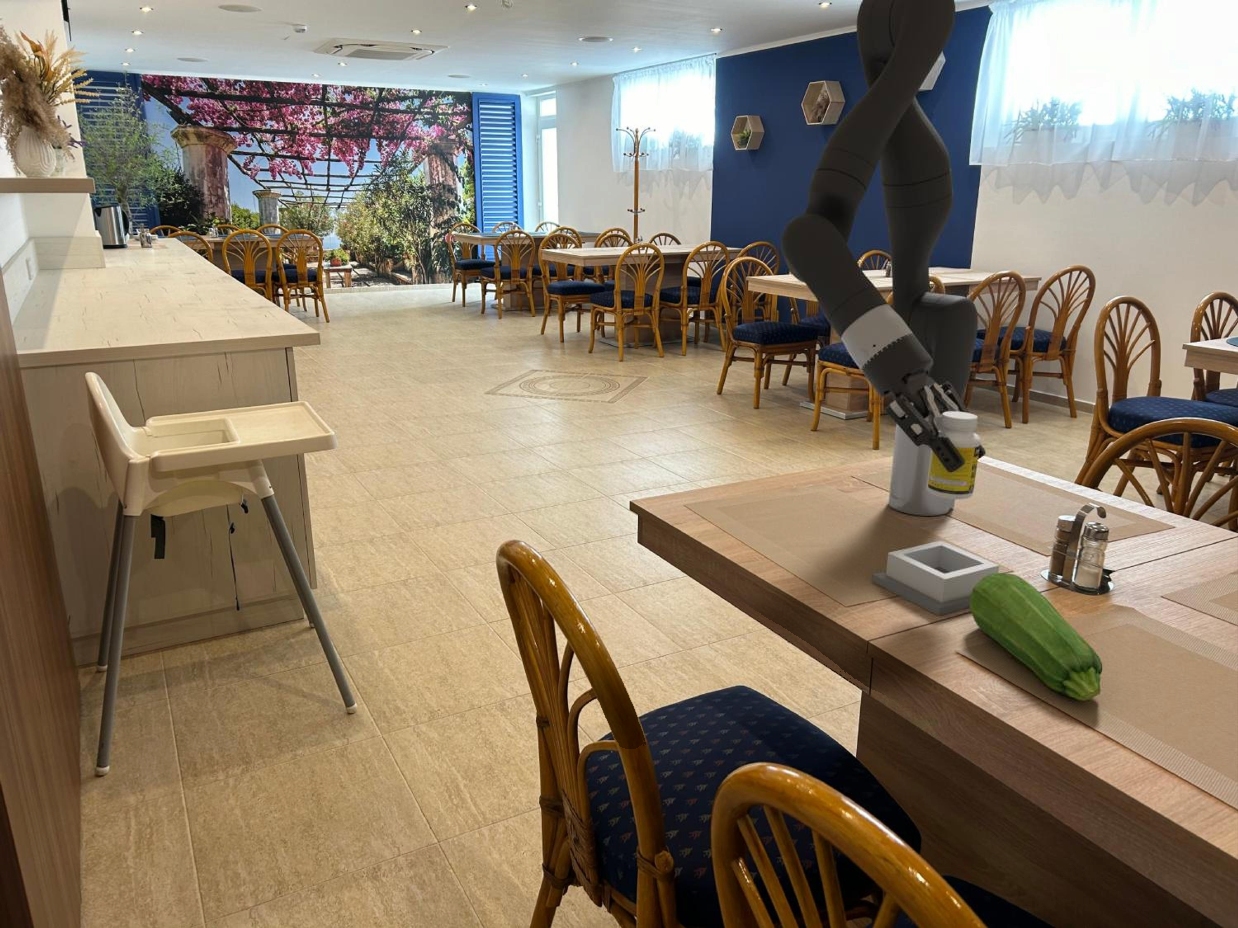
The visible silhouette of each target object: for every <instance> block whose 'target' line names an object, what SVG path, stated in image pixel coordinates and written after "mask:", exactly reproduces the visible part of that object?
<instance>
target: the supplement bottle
mask: <svg viewBox="0 0 1238 928" xmlns="http://www.w3.org/2000/svg"><path fill="white" fill-rule="evenodd" d="M978 418H979V417H978V416H977V414H973V413H970V412H969V413H966V412H956V411H950V412H944V413H943V414H942V419H941V426H943V427H942V428H943V430H944V432H945V435H946V436H945V437H944V438H946V437H948V438H949V439H950V441H951V442H952V444H953V445H954V446H955V448H956V449H957V450H958V452H959V453H960V454H961V456H962V457H963V459H964V460H965V464H964V465H963V466H962V467H960V468H959V469H957V470H956V471H954V472H952V473H950V472H948V471H947V470H946V468H945V467H944V466H943V464H942V463H941V462H940V460H939V459H938V457H937V456H936V455H935V453H934V452H933V451H932V449H931V455H930V462H929V470H928V478H927V486H926V489H927V491H928V492H929V493H931V494H932V495H935V496H937V497H941V498H947V499H955V500H965V499H969V498H972V496H973V495H974V489H975V483H976V475H977V468H978V461H979V459H978V456H979V449H980V444H981V438H980V436H979V435H978V434H977V433H975V432H974V431H975V430H976V429H977V426H978Z"/></svg>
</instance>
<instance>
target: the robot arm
mask: <svg viewBox="0 0 1238 928" xmlns="http://www.w3.org/2000/svg"><path fill="white" fill-rule="evenodd" d="M955 20H956V3H955V0H862V1H861V2H860V5H859V8H858V12H857V18H856V39H857V47H858V52H859V58H860V61H861V67H862V70H863V76H864V79H865V82H866V83H865V84H866V89H867V91H866V93H865V94H864V96H862V98H861V99H859V101H858V102H857V103H856V104H855V105H854V106H853V107H852V108H851V109H850V110H849V112H848V113H846V115H845V116H844V117H843V119H841V121H840V122H839V124H838V125H837V126H836V127H835V128H834V131H833V132H832V134H831V136H830V137H829V139H828V141H827V142H826V145H825V147H824V148H823V151H822V153H821V156H820V158H819V161H818V163H817V165H816V168H815V170H814V172H813V175H812V177H811V181H810V183H809V186H808V201H807V205H806V208H805V211H804V214H801V215H798V216H795V217H794V218H792V220H790V221H789V222H788V223H787V224H786V226H785V227H784V229H783V231H782V235H781V238H780V239H781V241H780V243H781V244H780V247H781V253H782V255H783V257H784V261H785V263H786V265H787V266H786V267H787V268H788V270H789V272H790V273H791V275H792V276H793V277H794V278H796V279H797V280H798V281H799V282H802V283H804V284H805V285H806V286H807V288H808V290H810V292H811V293H812V295H813V296H814V297H815V299H816V301H817V303H818V306H819V308H820V309H821V311H822V313H823V315H824V317H825V318H826V320H827V321H828V323H829V325H830V326H832V328H833V330H834V331H835V332H836V334H837V335H838V336H839V338H840V340H841V341H842V343H843V344H844V346H845V349H846V350H847V352H848V354H849V355H850V357H851V358H852V360H853V362H854V363H855V364H856V366H857V367H858V368H859V370H860V371H861V372H862V374H863V375H864V376H865V378H866V379H867V381H868V382H869V384H870V385H871V386H872V387H873V389H874V390H875V392H876V393H877V394H878V396H879V398H883V399H884V398H889V397H893V399H894V400H893V401H892V402H891V403H890V404H888V405H887V406H886V407H885V412H886V413H887V414H888V415H889V416H890V417H891V419H892V420H893V421H894V422H895V423H896V425H895V432H894V433H895V435H894V443H893V444H894V446H893V457H892V466H891V474H890V475H891V476H890V482H889V483H890V484H889V486H890V487H889V495H888V496H889V497H888V505H889V507H891V508H892V509H894V510H896V511H898V512H901V513H904V514H909V515H914V516H915V515H916V516H930V517H931V516H941V515H945V514H947V513H948V512H949V511H950V509H953V508H955V502H956V499H947V498H941V497H937V496H935V495H932V494H931V493H929V492H928V491H927V489H926V486H927V478H928V470H929V462H930V455H931V449H932V451H933V452H934V453H935V455H936V456H937V457H938V459H939V460H940V462H941V463H942V464H943V466H944V467H945V468H946V470H947V471H948V472H950V473H952V472H954V471H956V470H957V469H959V468H960V467H962V466H963V465H964V464H965V460H964V459H963V457H962V456H961V454H960V453H959V452H958V450H957V449H956V448H955V446H954V445H953V444H952V442H951V441H950V439H949V438H948V437H946V438H944V437H945V436H946V435H945V432H944V430H943V428H942V427H943V426H941V419H942V414H943V413H944V412H950V411H956V412H966V413H970V411H969V410H968V407H966V405H965V404H964V401H963V399H964V395H965V392H966V389H967V386H968V383H969V381H970V376H971V375H970V374H971V370H972V369H971V368H972V362H973V357H974V351H975V347H976V341H977V334H978V326H979V316H978V310H977V307H976V305H975V302H973V300H972V299H970V298H968V297H966V296H963V295H956V294H955V295H954V294H953V295H952V294H943V293H937V292H936V293H934V292H932V289H931V284H930V261H931V260H930V259H931V255H932V253H933V250H934V248H935V246H936V243H937V242H938V241H939V240H938V239H939V238H940V236H941V234H942V232H943V230H944V228H945V227H946V224H947V222H948V220H949V218H950V216H951V213H952V209H953V205H954V187H953V174H952V165H951V164H952V163H951V158H950V153H949V151H948V149H947V147H946V145H945V142H944V141H943V139H942V137H941V136H940V134H939V132H938V131H937V129H936V128H935V127H934V126H933V124H932V122H931V121H930V120H929V118H928V117H927V115H926V114H925V112H924V111H923V108H922V107H921V105H920V104H919V102H918V100H917V97H916V95H917V93H918V92H919V90H920V89H921V87H922V86H923V84H924V82H925V80H926V78H927V77H928V75H929V74H930V72H931V71H932V69H933V68H934V66H935V64H936V62H937V61H938V60H939V59H940V56H941V55H942V53H943V51H944V49H945V48H946V46H947V43H948V42H949V40H950V37H951V35H952V32H953V29H954V25H955ZM878 164H879V165H880V166H879V167H880V179H881V180H880V181H881V186H882V187H881V188H882V195H883V196H882V197H883V205H884V209H885V215H886V221H887V228H888V229H887V230H888V238H889V240H888V241H889V250H890V252H889V253H890V261H891V263H890V264H891V281H892V283H891V284H892V286H891V287H892V291H891V292H892V307H891V305H890V304H889V303H888V302H887V300H886V299H885V298H884V297H883V295H882V294H881V292H880V291H879V289H878V288H877V286H875V285H874V283H873V282H872V281H871V280H870V279H869V278H868V277H867V275H866V274H865V272H863V270H862V269H861V267H860V264H859V263H858V261H857V260H856V257H855V256H854V254H853V253H852V251H851V250H850V248H849V246H848V242H849V239H850V237H851V236H850V235H851V232H852V229H853V225H854V223H855V219H856V215H857V212H858V209H859V207H860V205H861V203H862V200H863V199H864V196H866V195H865V194H866V191H867V190H868V188H869V185H870V183H871V180H872V178H873V176H874V174H875V171H876V169H877V166H878ZM986 454H987V453H986V449H985V448H984V447H983V446H982V443H980V449H979V456H978V460H980V459H981V458H983V457H984V456H986Z"/></svg>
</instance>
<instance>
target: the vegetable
mask: <svg viewBox="0 0 1238 928" xmlns="http://www.w3.org/2000/svg"><path fill="white" fill-rule="evenodd" d="M969 606H970V607H969V609H970V611H971V614H972V618H973V619H974V622H975V624H976V625H977V626H978V628H979V629H980V630H981V631H983V633H985V634H986V635H988V636H989V637H991V638H992V639H994V641H996V642H997V643H999V645H1001V646H1002V647H1003V648H1004V649H1006V650H1007V651H1008V652H1009V653H1010V654H1011V655H1012V656H1014V657H1015V658H1016V659H1018V661H1020V662H1022V663H1023V664H1024V665H1026V666H1027V667H1028V668H1029V669H1030V670H1031V671H1033V673H1035V674H1036V676H1037V677H1038V678H1039V679H1040V680H1041V681H1042V682H1043V683H1044V684H1045V685H1046V686H1047V687H1048V688H1050V689H1051V690H1052V691H1055V692H1057V693H1061V694H1062V695H1064V696H1066V697H1071V698H1073V699H1076V700H1077V701H1083V702H1084V701H1090V700H1092V699H1094V698H1095V697H1096V696H1098V695H1100V694H1101V691H1102V690H1101V674H1102V672H1103V663H1102V661H1101V657H1100V656H1099V655H1098V653H1097V652H1096V651H1095V650H1094V648H1093V647H1092V646H1091V645H1090V644H1089V643H1088V642H1087V641H1086V639H1084V638H1083V637H1082V636H1081V635H1080V634H1079V633H1078V632H1077V631H1076V630H1075V629H1074V628H1073V626H1072V625H1070V624H1069V622H1068V621H1066V619H1065V618H1064V617H1063V615H1061V614H1060V612H1059V611H1058V610H1057V609H1056V608H1055V606H1054V605H1053V604H1052V603H1051V602H1050V601H1049V600H1048V599H1047V597H1046V596H1044V595H1043V594H1042V593H1041V592H1040V591H1039V590H1038V589H1037V588H1036V587H1034V586H1033V585H1032V584H1030V583H1029V582H1028V581H1026V579H1024V578H1022V577H1020V576H1018V575H1016V574H1013V573H1003V572H998V573H992V574H990V575H987V576H986V577H984V578H983V579H981V580H980V581H979V582H978V583H977V584H976V585H975V586H974V588H973V590H972V594H971V598H970V603H969Z"/></svg>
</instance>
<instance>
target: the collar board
mask: <svg viewBox="0 0 1238 928" xmlns="http://www.w3.org/2000/svg"><path fill="white" fill-rule="evenodd" d="M999 570H1000V565H999V564H997V563H995V562H992V561H990V560H987V559H986V558H983V557H980V556H978V555H976V554H973V553H971V552H969V551H967V550H964V549H961V548H959V547H957V546H954V545H953V544H949V543H947V542H945V541H944V540H938V541H933V542H929V543H925V544H920V545H917V546H913V547H908V548H903V549H899V550H894V551H889V552H888V554H887V563H886V570H885V571H881V572H877V573H872V579H871V580H872V581H871V582H873V583H874V584H877V585H878V586H880V587H881V588H884V589H886V590H888V591H890V592H892V593H894V594H895V595H897V596H900V597H902V598H904V599H905V600H907V601H909V602H911V603H913V604H915V605H917V606H919V607H920V608H922V609H924V610H927V611H929V612H931V613H932V614H935V615H936V616H943V615H947V614H949V613H954V612H957V611H961V610H964V609H967V608H970V606H969V603H970V598H971V594H972V590H973V588H974V586H975V585H976V584H977V583H978V582H979V581H980V580H981V579H983V578H984V577H986V576H987V575H990V574H992V573H999Z"/></svg>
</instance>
